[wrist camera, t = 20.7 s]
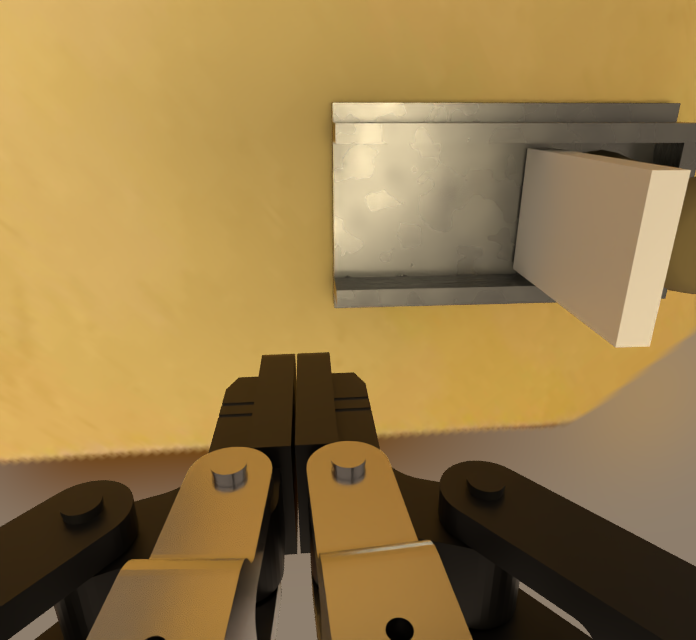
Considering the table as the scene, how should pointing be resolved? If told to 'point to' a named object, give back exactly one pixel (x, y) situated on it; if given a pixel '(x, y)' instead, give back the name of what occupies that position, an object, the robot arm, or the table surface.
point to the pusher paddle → (600, 237)
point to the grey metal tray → (462, 190)
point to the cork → (678, 239)
